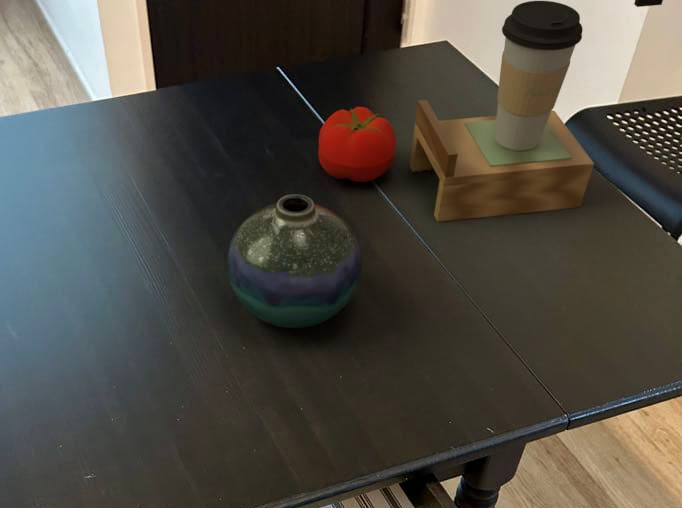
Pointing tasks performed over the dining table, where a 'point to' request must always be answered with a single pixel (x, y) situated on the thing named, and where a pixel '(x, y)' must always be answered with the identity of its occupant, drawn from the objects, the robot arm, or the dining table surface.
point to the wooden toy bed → (497, 167)
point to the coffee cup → (533, 69)
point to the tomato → (356, 145)
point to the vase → (294, 263)
